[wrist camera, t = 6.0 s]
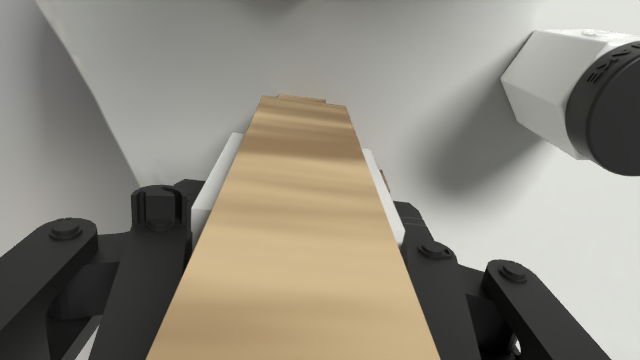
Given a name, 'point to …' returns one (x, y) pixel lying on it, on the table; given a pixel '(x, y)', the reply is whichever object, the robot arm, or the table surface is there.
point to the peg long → (296, 254)
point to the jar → (581, 94)
